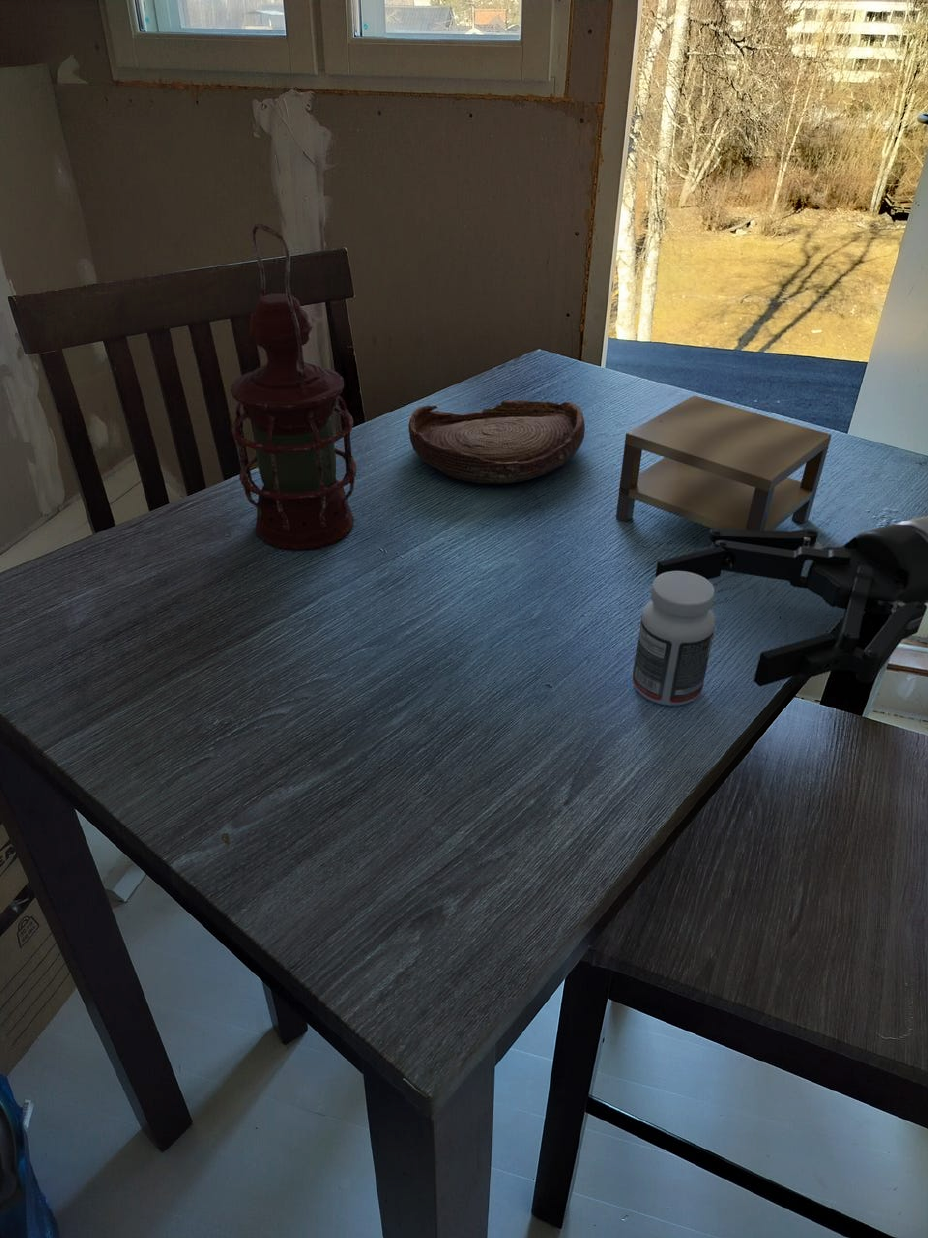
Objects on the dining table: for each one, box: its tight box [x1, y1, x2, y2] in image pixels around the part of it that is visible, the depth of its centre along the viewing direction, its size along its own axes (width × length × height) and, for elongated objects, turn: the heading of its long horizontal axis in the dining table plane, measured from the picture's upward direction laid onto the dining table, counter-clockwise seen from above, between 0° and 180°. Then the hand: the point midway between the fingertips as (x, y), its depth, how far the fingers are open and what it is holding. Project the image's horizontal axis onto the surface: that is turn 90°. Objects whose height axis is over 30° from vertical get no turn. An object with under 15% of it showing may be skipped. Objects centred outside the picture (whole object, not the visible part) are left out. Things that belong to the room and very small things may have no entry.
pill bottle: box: [632, 571, 716, 707], centre depth 68 cm, size 6×6×10 cm
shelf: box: [615, 395, 833, 531], centre depth 91 cm, size 16×14×10 cm
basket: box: [408, 399, 586, 485], centre depth 105 cm, size 22×20×5 cm
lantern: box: [230, 223, 358, 551], centre depth 83 cm, size 12×12×30 cm
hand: (704, 620), depth 68 cm, fingers open, 13 cm apart
